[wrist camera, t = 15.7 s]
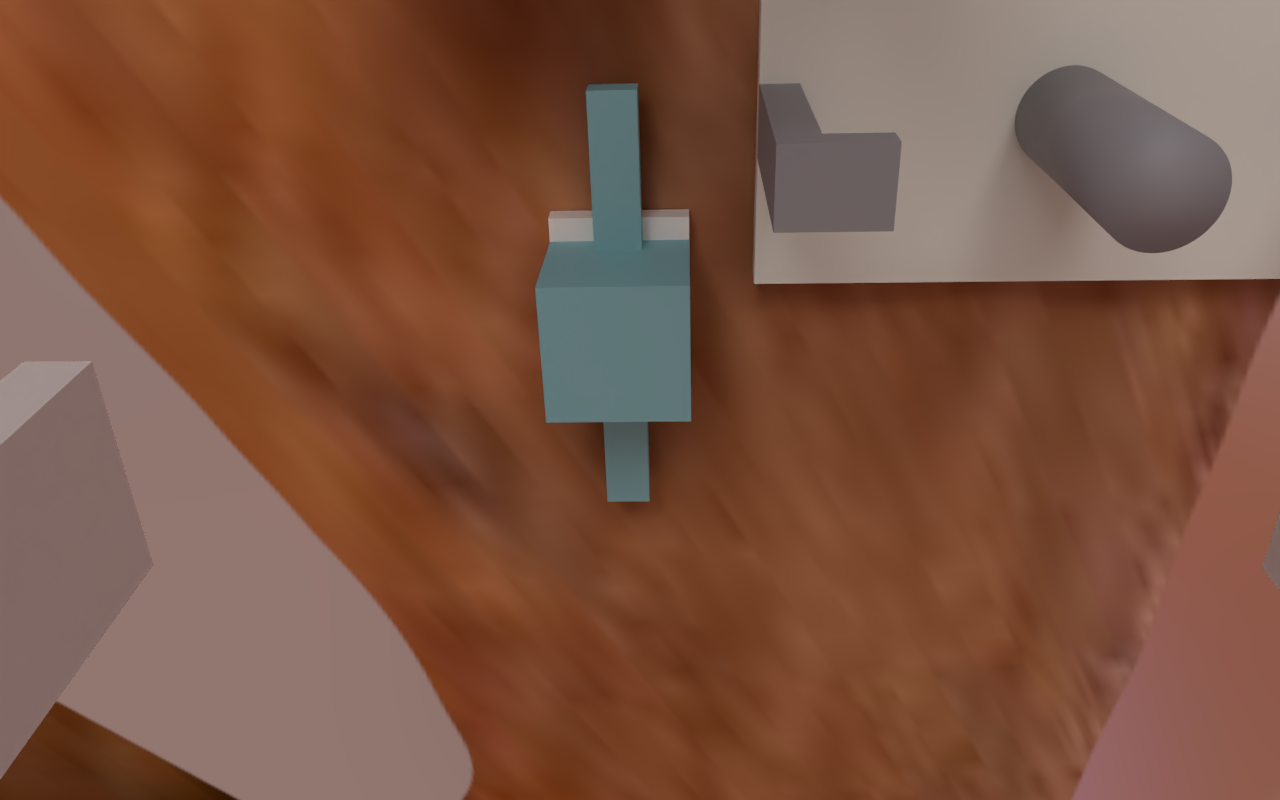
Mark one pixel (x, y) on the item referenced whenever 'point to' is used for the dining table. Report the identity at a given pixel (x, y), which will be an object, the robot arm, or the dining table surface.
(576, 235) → the tile
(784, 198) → the white and grey stand
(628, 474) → the teal cube with tabs
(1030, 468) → the dining table surface
